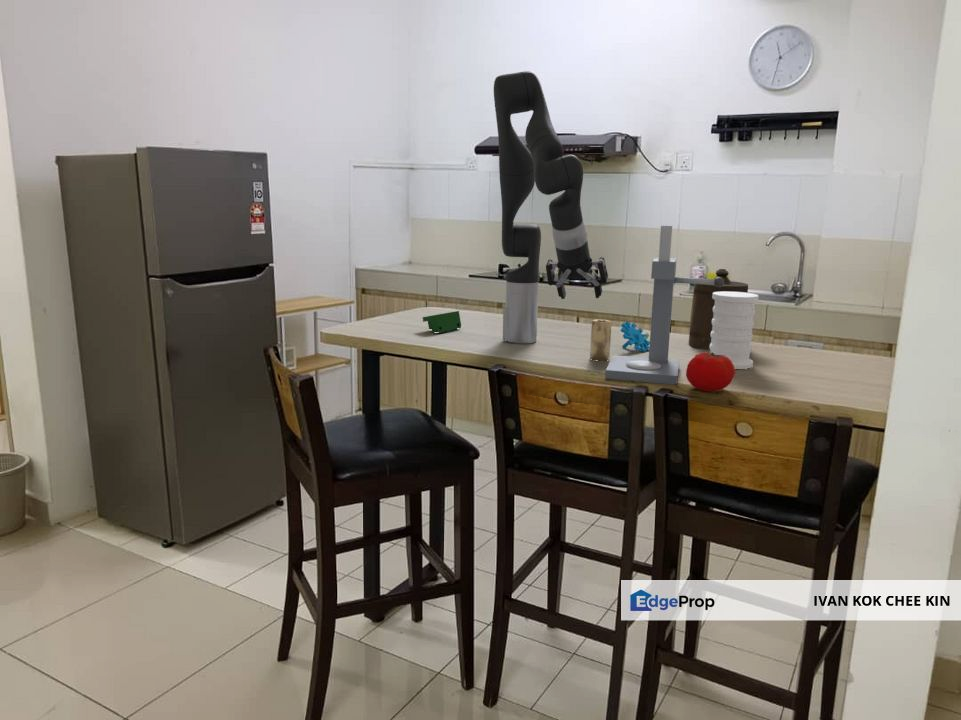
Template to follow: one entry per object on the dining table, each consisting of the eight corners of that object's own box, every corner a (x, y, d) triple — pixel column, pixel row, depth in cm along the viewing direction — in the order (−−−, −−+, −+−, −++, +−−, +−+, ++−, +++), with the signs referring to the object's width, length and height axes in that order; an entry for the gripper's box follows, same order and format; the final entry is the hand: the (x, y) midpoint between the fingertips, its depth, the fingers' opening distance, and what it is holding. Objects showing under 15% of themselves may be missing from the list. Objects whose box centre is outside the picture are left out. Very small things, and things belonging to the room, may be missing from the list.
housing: (588, 360, 187) (590, 321, 185) (591, 356, 191) (593, 318, 189) (608, 362, 185) (610, 322, 183) (610, 358, 190) (612, 319, 188)
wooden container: (733, 341, 215) (740, 267, 210) (749, 352, 201) (757, 272, 196) (683, 340, 216) (689, 266, 211) (695, 350, 202) (701, 271, 197)
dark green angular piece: (445, 342, 229) (448, 315, 231) (459, 340, 225) (462, 312, 227) (418, 332, 220) (422, 303, 222) (433, 330, 216) (436, 301, 218)
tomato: (678, 384, 165) (681, 348, 163) (723, 384, 165) (726, 348, 163) (693, 395, 155) (696, 357, 154) (740, 395, 156) (743, 357, 154)
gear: (635, 348, 194) (618, 319, 198) (620, 361, 198) (604, 331, 202) (659, 349, 201) (642, 320, 206) (645, 361, 205) (629, 333, 209)
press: (605, 378, 169) (613, 225, 161) (613, 362, 184) (622, 222, 177) (716, 388, 162) (731, 228, 154) (715, 371, 178) (728, 225, 170)
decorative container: (699, 359, 191) (705, 290, 187) (743, 359, 191) (750, 291, 187) (712, 369, 180) (719, 297, 176) (759, 370, 179) (767, 297, 176)
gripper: (537, 250, 168) (549, 306, 178) (598, 247, 163) (607, 305, 173) (544, 233, 173) (555, 288, 183) (603, 229, 168) (612, 286, 178)
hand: (580, 296), depth 178 cm, fingers open, 8 cm apart
